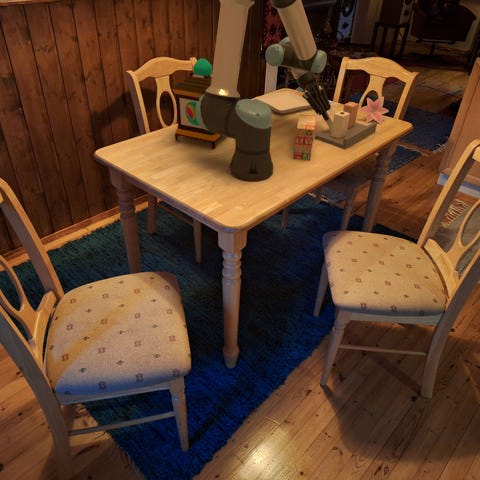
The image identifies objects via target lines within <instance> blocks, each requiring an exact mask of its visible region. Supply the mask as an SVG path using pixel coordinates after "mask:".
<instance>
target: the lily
mask: <svg viewBox="0 0 480 480" xmlns="http://www.w3.org/2000/svg"><path fill="white" fill-rule="evenodd" d="M384 99H385V97H384V96H380V97H379V98H377V99H376V100H375V101H373V100H372V99H370V98H369V97H367V98H366V102H367V105H365V106H362V107H359V108H358V111H359V112H360V113H363V114H365V115H366V120H365V123H366V124H368V123H369V122H371V121H372V120H374V121H375V122H376V123H377V124H379V125H383V120H384V119H383V115H384V114H386V113H389V109H387V108H385V107H383V105H384V102H385V101H384Z"/></svg>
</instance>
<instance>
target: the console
mask: <svg viewBox="0 0 480 480" xmlns="http://www.w3.org/2000/svg"><path fill="white" fill-rule="evenodd" d="M377 125H378V122H377V121H373V122H371V123H369V124H368V125H365V124H363V123H359V122H357V121H356V122H355V125H354V126H352V127H350V128H347V133H346V136H344V137H342V138H340V139H339V138H336V137H333V136H331V132H332V128H329V127H328V128H327V129H326V130H323V131H321V132H319V133H318V134H315V135H314V136H315V137H314V139H315V140H317V141H320V142H323V143H325V144H330V145H331V146H334V147H338V148H340V149H342V150H347V149H349V148H350V147H351V146H353V145H355V144H357V143H359V142H360V141H362V140H363V139H366V138H367V137H369V136H371V135H372V134H374V133H375V132H376V129H377Z"/></svg>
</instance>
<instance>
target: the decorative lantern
mask: <svg viewBox="0 0 480 480" xmlns="http://www.w3.org/2000/svg"><path fill="white" fill-rule="evenodd" d="M192 70H193V71H192V72H190V73H189V75H188V76H186V78H184V79H182V80H180V81H178V82H177V83H176V84H174V86H173V87H172V91H173V93H174V94H175V100H176V101H175V103H176V117H177V127H176V129H175V132H174V139H175V141H176V142H179V141H180V139H181V137H183V138H188V139H193V140H196V141H197V140H198V141H203V142H207V143H209V144H210V146H211V149H212V150H216V143H217V142H218V141H219V140H220V139H221V138H222V137H224V136H223V135H220V134H216V133H211V132H209V131H207V130H205V129H203V128H202V127H201V126H200V125H199V123H198V122H197V119H196V105H197V102H198V101H199V98H200V97H201V96H203V95H205V90H206V89H207V88H208V87H210V85H211V79H212V71H213V65H212V64H211V63H210V62H209V61H208V59H206V58H199V59H198V60H196V62H195V63H194V64H193V67H192Z"/></svg>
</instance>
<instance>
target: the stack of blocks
mask: <svg viewBox="0 0 480 480" xmlns="http://www.w3.org/2000/svg"><path fill="white" fill-rule="evenodd" d="M315 127H316V116H315V115H311V114H307V115H306V114H299V115H298V122H297V126H296V134H295V142H294V143H295V144H294V151H293V160H299V161H302V160H303V161H311V157H312V149H313V143H314V138H315V137H314V136H315V131H316V130H315V129H316V128H315Z"/></svg>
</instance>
